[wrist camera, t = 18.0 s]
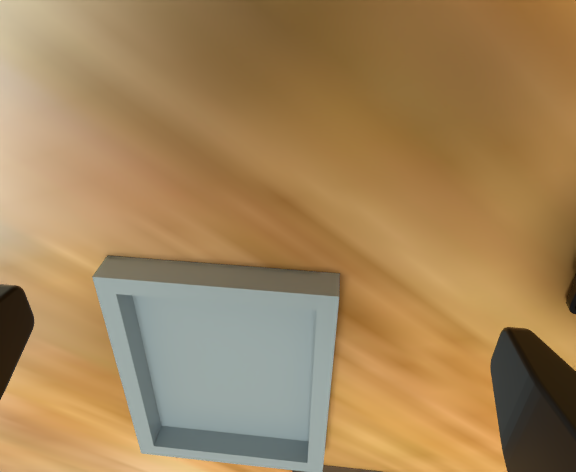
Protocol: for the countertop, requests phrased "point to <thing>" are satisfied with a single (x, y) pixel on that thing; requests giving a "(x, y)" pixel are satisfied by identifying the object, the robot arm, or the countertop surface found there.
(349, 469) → the bay rails
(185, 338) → the tray
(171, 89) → the countertop surface
